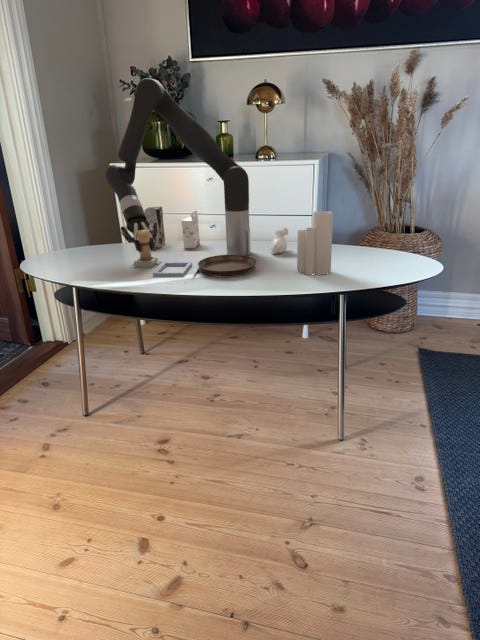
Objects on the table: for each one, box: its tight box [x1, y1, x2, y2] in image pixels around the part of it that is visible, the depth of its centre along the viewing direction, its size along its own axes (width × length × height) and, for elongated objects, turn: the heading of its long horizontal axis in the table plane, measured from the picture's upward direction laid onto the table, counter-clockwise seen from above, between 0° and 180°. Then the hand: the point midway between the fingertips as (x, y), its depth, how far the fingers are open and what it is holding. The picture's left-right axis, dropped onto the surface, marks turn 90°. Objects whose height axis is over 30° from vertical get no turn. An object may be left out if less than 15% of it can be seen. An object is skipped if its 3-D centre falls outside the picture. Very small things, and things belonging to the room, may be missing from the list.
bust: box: [269, 226, 289, 255], centre depth 189 cm, size 12×8×11 cm
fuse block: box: [129, 256, 163, 269], centre depth 174 cm, size 10×8×4 cm
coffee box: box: [143, 206, 166, 248], centre depth 207 cm, size 9×6×16 cm
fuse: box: [137, 229, 152, 261], centre depth 172 cm, size 4×4×12 cm
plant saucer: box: [197, 254, 258, 278], centre depth 168 cm, size 21×21×3 cm
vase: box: [296, 210, 334, 276], centre depth 159 cm, size 11×7×20 cm, turn 83°
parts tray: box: [152, 261, 193, 278], centre depth 165 cm, size 10×14×3 cm
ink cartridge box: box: [180, 209, 201, 249], centre depth 204 cm, size 9×5×15 cm, turn 168°
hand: (146, 249), depth 170 cm, fingers closed on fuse, 4 cm apart
